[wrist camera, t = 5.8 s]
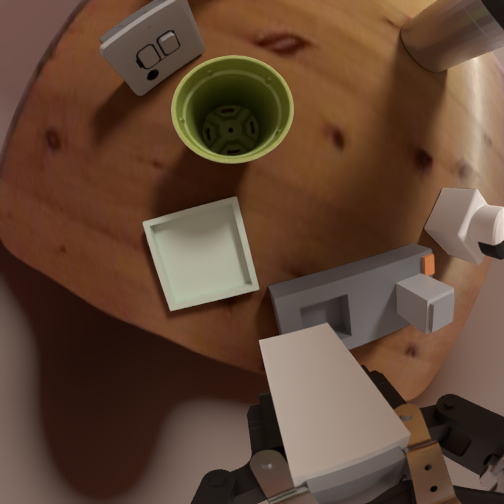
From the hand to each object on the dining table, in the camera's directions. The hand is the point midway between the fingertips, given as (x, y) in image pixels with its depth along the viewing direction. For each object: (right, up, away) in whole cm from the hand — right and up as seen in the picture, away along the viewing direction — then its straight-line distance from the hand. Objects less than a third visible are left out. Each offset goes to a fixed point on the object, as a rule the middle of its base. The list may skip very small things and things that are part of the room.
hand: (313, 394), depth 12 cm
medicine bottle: (+25, +11, +20) cm, 34 cm away
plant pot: (-5, +20, +15) cm, 26 cm away
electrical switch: (-14, +29, +13) cm, 34 cm away
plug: (0, +1, +3) cm, 3 cm away
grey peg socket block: (+9, +1, +20) cm, 22 cm away
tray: (-8, +7, +17) cm, 20 cm away
